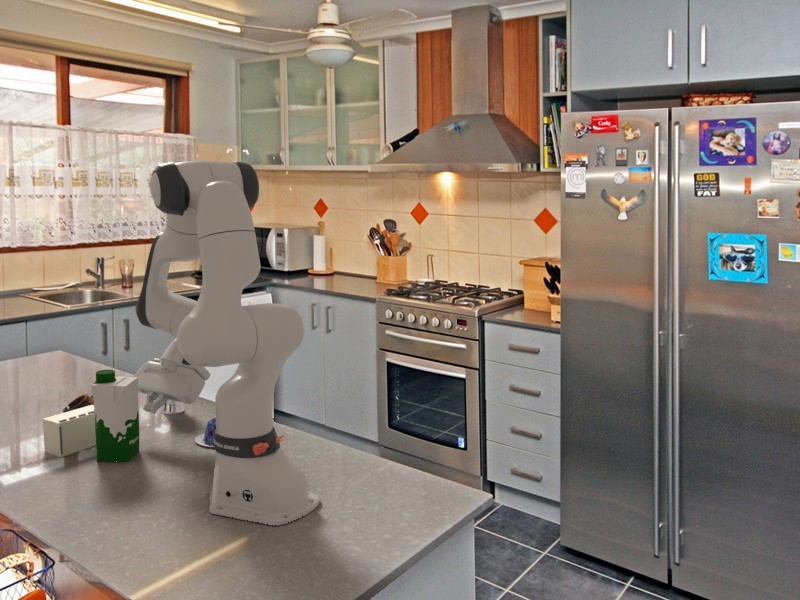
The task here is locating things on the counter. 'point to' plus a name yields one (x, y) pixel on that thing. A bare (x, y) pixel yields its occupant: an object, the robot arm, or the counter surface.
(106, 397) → the soya milk
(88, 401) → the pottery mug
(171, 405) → the beer glass
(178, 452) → the counter surface
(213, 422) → the pudding
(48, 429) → the block
